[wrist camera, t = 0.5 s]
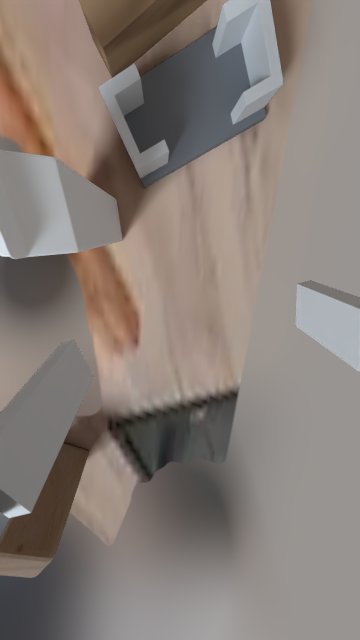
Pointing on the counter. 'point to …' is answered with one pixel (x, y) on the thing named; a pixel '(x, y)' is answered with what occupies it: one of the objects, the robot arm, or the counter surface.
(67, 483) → the wooden block
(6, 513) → the robot arm
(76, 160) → the counter surface
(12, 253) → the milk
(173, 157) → the endcap rail
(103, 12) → the slat
